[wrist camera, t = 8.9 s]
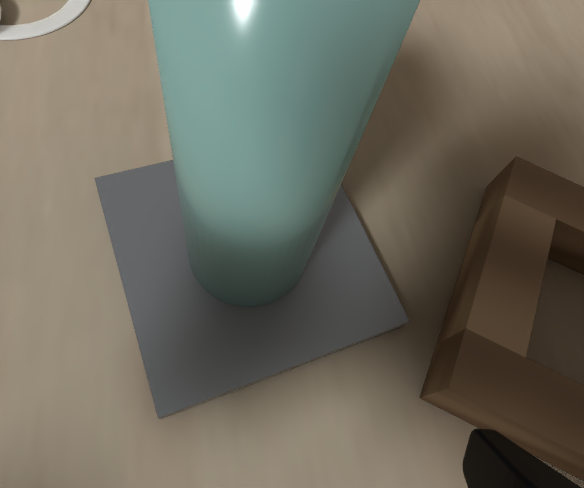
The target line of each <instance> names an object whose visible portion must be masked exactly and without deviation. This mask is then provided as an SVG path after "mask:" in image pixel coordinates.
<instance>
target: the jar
mask: <svg viewBox="0 0 584 488" xmlns="http://www.w3.org/2000/svg"><path fill="white" fill-rule="evenodd" d="M148 2H149V9H150V15H151V21H152V28H153V34H154V41H155V47H156V53H157V60H158V66H159V73H160V79H161V85H162V92H163V98H164V105H165V111H166V117H167V124H168V130H169V137H170V143H171V149H172V156H173V162H174V168H175V175H176V181H177V188H178V194H179V200H180V207H181V213H182V220H183V226H184V232H185V239H186V245H187V252H188V258H189V263H190V267H191V270H192V272H193V274H194V276H195V278H196V279H197V281H198V282H199V284H200V285H201V286H202V287H203V288H204V289H205V290H206V291H207V292H208V293H209V294H211V295H212V296H214V297H215V298H217V299H219V300H221V301H223V302H226V303H228V304H232V305H236V306H243V307H256V306H262V305H266V304H269V303H272V302H274V301H277V300H279V299H280V298H282V297H284V296H285V295H286V294H288V293H289V292H290V291H291V290H292V289H293V288H294V287H295V286H296V284H297V283H298V282H299V280H300V278H301V276H302V274H303V272H304V270H305V268H306V265H307V263H308V261H309V258H310V256H311V254H312V251H313V249H314V247H315V244H316V242H317V240H318V237H319V235H320V233H321V230H322V228H323V226H324V223H325V221H326V219H327V216H328V214H329V212H330V209H331V207H332V205H333V202H334V200H335V198H336V196H337V193H338V191H339V189H340V186H341V184H342V182H343V179H344V177H345V175H346V172H347V170H348V168H349V165H350V163H351V161H352V158H353V156H354V154H355V151H356V149H357V147H358V144H359V142H360V140H361V137H362V135H363V133H364V130H365V128H366V126H367V123H368V121H369V119H370V116H371V114H372V112H373V109H374V107H375V105H376V102H377V100H378V98H379V95H380V93H381V91H382V88H383V86H384V84H385V81H386V79H387V77H388V74H389V72H390V70H391V67H392V65H393V63H394V60H395V58H396V56H397V53H398V51H399V49H400V46H401V44H402V42H403V39H404V37H405V35H406V32H407V30H408V28H409V25H410V23H411V21H412V18H413V16H414V14H415V11H416V9H417V7H418V4H419V2H420V0H148Z"/></svg>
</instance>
